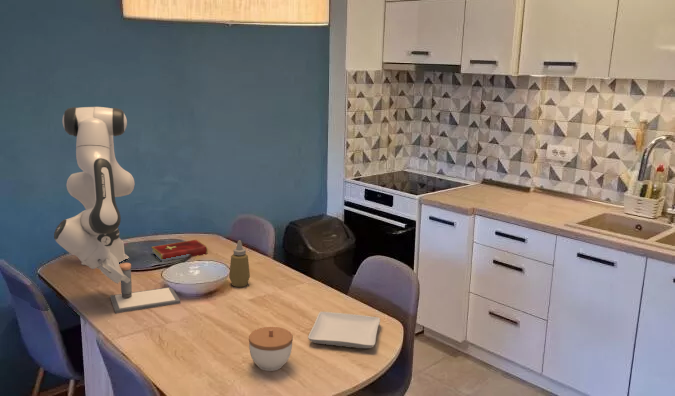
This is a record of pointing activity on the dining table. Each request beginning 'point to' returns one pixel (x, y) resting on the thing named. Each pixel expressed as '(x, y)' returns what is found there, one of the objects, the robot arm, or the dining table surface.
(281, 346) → the lidded bowl
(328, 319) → the salad plate
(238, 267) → the squeeze bottle
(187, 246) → the hardcover book
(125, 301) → the writing board
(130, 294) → the marker
